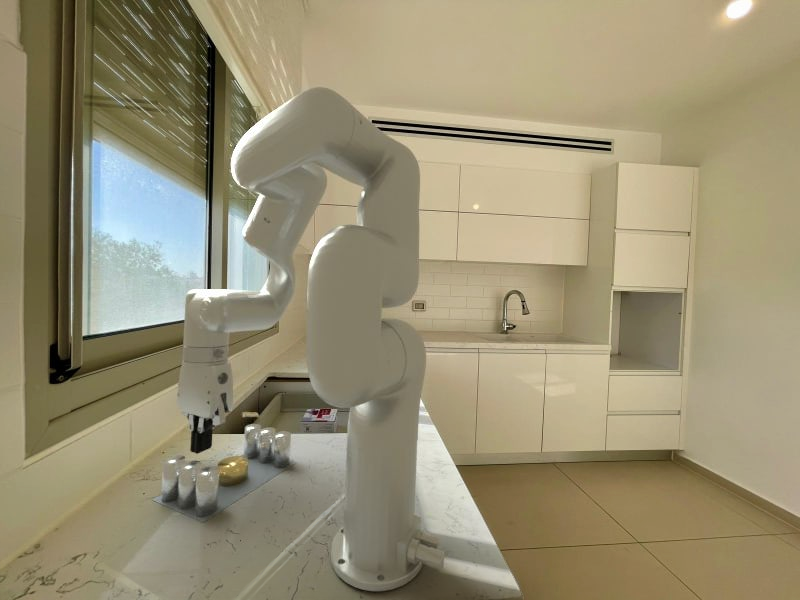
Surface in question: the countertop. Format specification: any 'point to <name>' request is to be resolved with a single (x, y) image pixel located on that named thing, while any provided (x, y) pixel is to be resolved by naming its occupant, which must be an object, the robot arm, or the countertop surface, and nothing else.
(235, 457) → the gold rounded lump
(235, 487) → the plate
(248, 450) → the steel spacers
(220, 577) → the countertop surface
